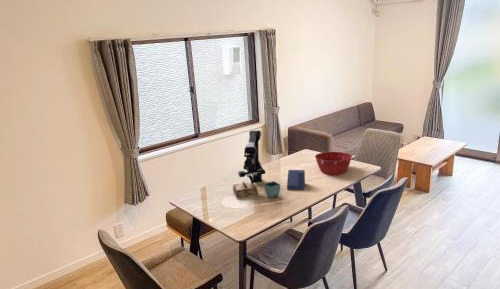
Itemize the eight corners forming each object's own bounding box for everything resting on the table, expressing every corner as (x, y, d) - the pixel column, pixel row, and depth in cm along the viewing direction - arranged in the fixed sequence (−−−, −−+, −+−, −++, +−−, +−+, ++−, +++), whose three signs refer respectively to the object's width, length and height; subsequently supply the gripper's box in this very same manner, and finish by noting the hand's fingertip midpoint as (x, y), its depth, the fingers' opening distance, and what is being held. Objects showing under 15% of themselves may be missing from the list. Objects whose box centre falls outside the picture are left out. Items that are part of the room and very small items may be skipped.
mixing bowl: (327, 167, 312) (327, 149, 309) (358, 172, 292) (358, 154, 289) (308, 175, 293) (308, 157, 289) (340, 182, 273) (339, 162, 269)
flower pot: (270, 199, 248) (269, 187, 246) (263, 195, 256) (263, 183, 254) (281, 196, 252) (280, 184, 250) (274, 193, 260) (273, 181, 258)
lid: (252, 182, 269) (252, 179, 269) (256, 188, 257) (256, 184, 257) (233, 185, 266) (233, 182, 265) (236, 191, 254) (236, 187, 253)
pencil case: (253, 189, 271) (252, 183, 270) (257, 194, 258) (257, 189, 257) (233, 191, 267) (232, 186, 266) (237, 198, 255) (236, 192, 254)
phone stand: (287, 190, 263) (286, 174, 260) (289, 185, 274) (288, 169, 272) (303, 191, 260) (303, 175, 258) (305, 185, 272) (304, 170, 269)
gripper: (260, 158, 269) (261, 178, 272) (236, 162, 265) (237, 182, 268) (264, 162, 258) (266, 183, 262) (239, 166, 254) (240, 187, 258)
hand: (252, 184), depth 263 cm, fingers closed
